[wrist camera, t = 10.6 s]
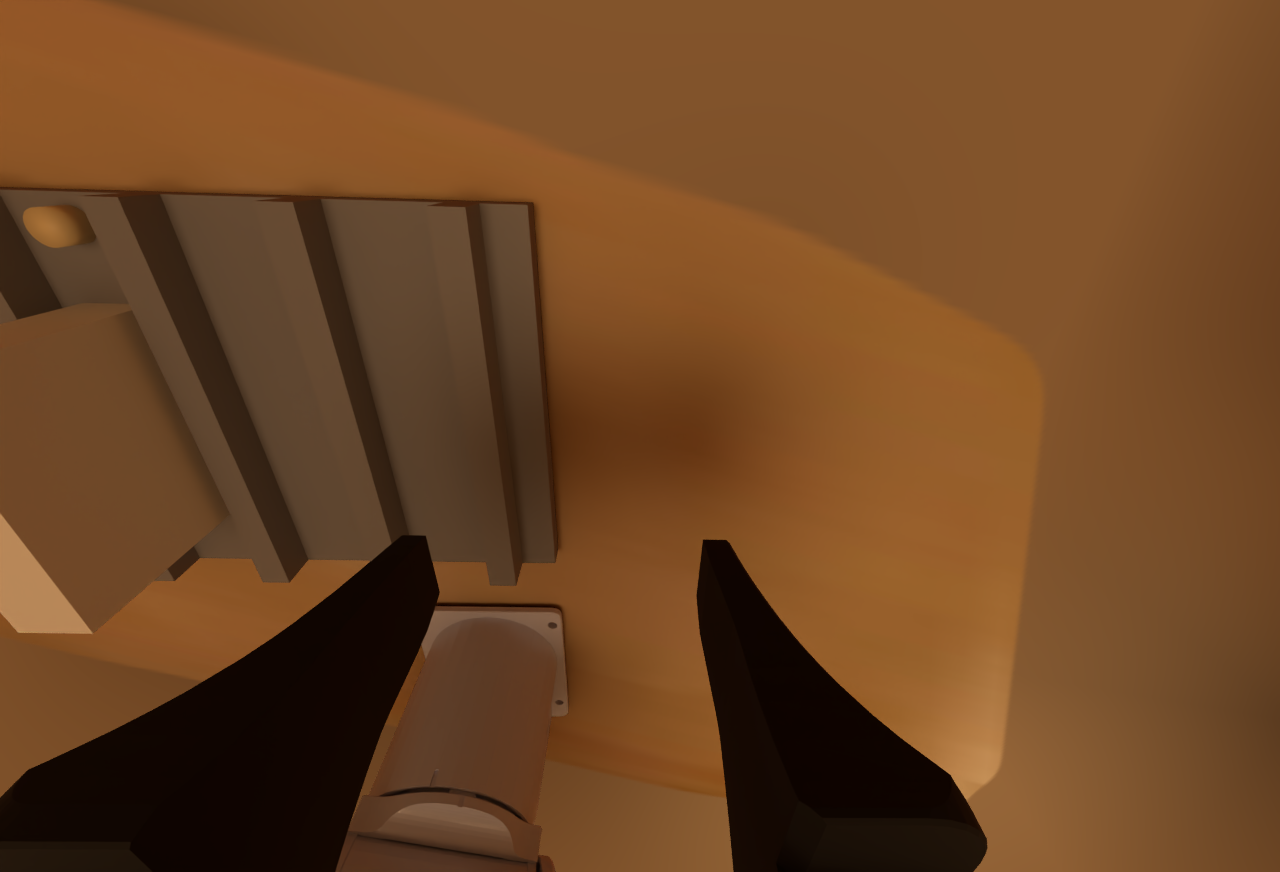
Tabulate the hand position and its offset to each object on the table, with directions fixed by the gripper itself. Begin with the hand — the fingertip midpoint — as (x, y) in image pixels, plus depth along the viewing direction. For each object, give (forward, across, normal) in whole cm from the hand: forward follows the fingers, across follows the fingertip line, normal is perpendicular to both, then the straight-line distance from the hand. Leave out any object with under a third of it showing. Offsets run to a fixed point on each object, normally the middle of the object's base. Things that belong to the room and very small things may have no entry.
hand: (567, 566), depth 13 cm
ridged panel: (+9, +12, 0) cm, 15 cm away
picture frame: (+8, +17, 0) cm, 19 cm away
